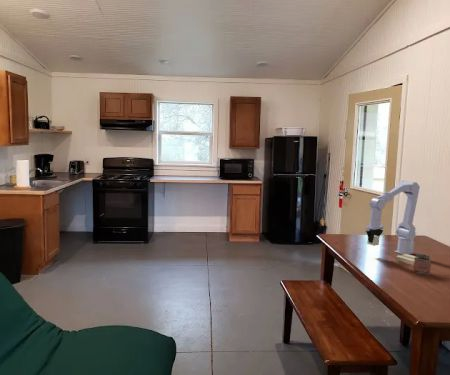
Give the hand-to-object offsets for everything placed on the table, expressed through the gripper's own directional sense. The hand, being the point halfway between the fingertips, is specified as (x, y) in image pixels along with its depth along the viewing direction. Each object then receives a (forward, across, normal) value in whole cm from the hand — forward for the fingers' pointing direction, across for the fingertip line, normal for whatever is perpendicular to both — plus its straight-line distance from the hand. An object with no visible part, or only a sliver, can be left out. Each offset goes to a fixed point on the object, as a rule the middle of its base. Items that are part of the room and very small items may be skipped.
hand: (373, 241), depth 227 cm
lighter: (+9, +1, +31) cm, 32 cm away
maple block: (+9, -11, +17) cm, 22 cm away
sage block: (+1, 0, 0) cm, 1 cm away
